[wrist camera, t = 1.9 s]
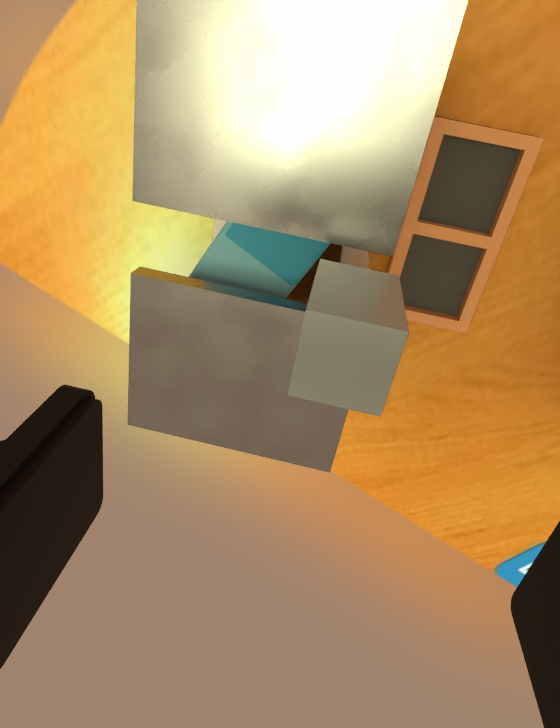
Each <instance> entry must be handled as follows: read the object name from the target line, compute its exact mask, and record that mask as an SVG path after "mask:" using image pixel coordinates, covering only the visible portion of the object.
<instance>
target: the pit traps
mask: <svg viewBox="0 0 560 728" xmlns="http://www.w3.org/2000/svg"><path fill="white" fill-rule="evenodd" d="M543 141H544V138H540V137H536V136H531V135H526V134H521V133H516V132H511V131H506V130H501V129H496V128H491V127H486V126H481V125H476V124H471V123H466V122H460V121H455V120H450V119H445V118H440V117H435V116H434V119H433V122H432V126H431V129H430V133H429V136H428V139H427V143H426V146H425V150H424V153H423V156H422V160H421V163H420V167H419V170H418V174H417V177H416V180H415V184H414V187H413V191H412V194H411V197H410V201H409V204H408V208H407V211H406V214H405V218H404V221H403V225H402V228H401V232H400V235H399V238H398V242H397V245H396V249H395V252H394V255H393V256H392V257H391V260H390V264H389V267H388V271H387V273H389V274H394V275H398V276H399V277H400V283H401V289H402V294H403V300H404V306H405V312H406V318H407V321H411V322H415V323H420V324H425V325H429V326H434V327H438V328H443V329H447V330H452V331H456V332H461V333H465V334H466V333H467V330H468V328H469V325H470V323H471V320H472V318H473V315H474V313H475V310H476V308H477V305H478V303H479V300H480V298H481V295H482V293H483V290H484V288H485V285H486V283H487V280H488V278H489V275H490V273H491V270H492V268H493V265H494V263H495V260H496V258H497V255H498V253H499V250H500V248H501V245H502V243H503V240H504V238H505V235H506V233H507V230H508V228H509V225H510V223H511V220H512V218H513V215H514V213H515V210H516V208H517V205H518V203H519V200H520V198H521V195H522V193H523V190H524V188H525V185H526V183H527V180H528V178H529V175H530V173H531V171H532V168H533V166H534V163H535V161H536V158H537V156H538V153H539V151H540V148H541V146H542V143H543Z"/></svg>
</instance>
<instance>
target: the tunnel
mask: <svg viewBox="0 0 560 728" xmlns="http://www.w3.org/2000/svg"><path fill="white" fill-rule="evenodd" d="M467 3H468V0H137V17H136V63H135V110H134V156H133V201H135V202H140V203H145V204H149V205H154V206H159V207H164V208H168V209H173V210H178V211H182V212H187V213H192V214H196V215H201V216H206V217H210V218H215V219H220V220H224V221H229V222H234V223H238V224H243V225H248V226H252V227H257V228H262V229H266V230H271V231H276V232H280V233H285V234H290V235H294V236H299V237H304V238H309V239H313V240H318V241H323V242H327V243H332V244H337V245H341V246H346V247H351V248H355V249H360V250H365V251H369V252H374V253H379V254H383V255H388V256H393V255H394V252H395V249H396V245H397V242H398V238H399V235H400V232H401V228H402V225H403V221H404V218H405V214H406V211H407V208H408V204H409V201H410V197H411V194H412V191H413V187H414V184H415V180H416V177H417V174H418V170H419V167H420V163H421V160H422V156H423V153H424V150H425V146H426V143H427V139H428V136H429V133H430V129H431V126H432V122H433V119H434V116H435V112H436V109H437V105H438V102H439V98H440V95H441V92H442V88H443V85H444V81H445V78H446V75H447V71H448V68H449V64H450V61H451V58H452V54H453V51H454V47H455V44H456V40H457V37H458V34H459V30H460V27H461V23H462V20H463V17H464V13H465V10H466V6H467ZM306 307H307V303H303V302H298V301H294V300H289V299H285V298H280V297H276V296H271V295H267V294H262V293H258V292H253V291H249V290H244V289H239V288H235V287H230V286H226V285H221V284H217V283H212V282H208V281H203V280H199V279H194V278H190V277H185V276H180V275H176V274H171V273H167V272H162V271H158V270H153V269H149V268H144V267H139V268H137V269H136V270H135V271H133V272H132V273H131V296H130V342H129V388H128V425H132V426H136V427H141V428H144V429H149V430H153V431H157V432H162V433H165V434H170V435H174V436H178V437H183V438H186V439H191V440H195V441H200V442H203V443H208V444H212V445H216V446H220V447H224V448H229V449H233V450H237V451H241V452H246V453H250V454H254V455H258V456H262V457H267V458H271V459H275V460H280V461H284V462H288V463H292V464H296V465H301V466H305V467H309V468H313V469H317V470H322V471H326V472H330V470H331V467H332V464H333V460H334V457H335V453H336V450H337V447H338V443H339V440H340V436H341V433H342V429H343V426H344V423H345V419H346V416H347V412H348V409H345V408H341V407H337V406H332V405H328V404H324V403H319V402H315V401H311V400H306V399H302V398H298V397H293V396H289V395H288V391H289V386H290V381H291V377H292V372H293V367H294V363H295V358H296V353H297V349H298V344H299V339H300V335H301V330H302V325H303V321H304V316H305V311H306Z"/></svg>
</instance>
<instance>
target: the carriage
mask: <svg viewBox="0 0 560 728" xmlns="http://www.w3.org/2000/svg"><path fill="white" fill-rule="evenodd" d="M226 222H227V221H224V220H220V219H215V221H214V231H213V240H212V242H213V241H214V239H215V238H216V236H217V235H218V233H219V232H220V230H221V229H222V227H223V226H224V224H225V223H226ZM408 334H409V329H408V323H407V318H406V312H405V306H404V300H403V294H402V289H401V283H400V277H399V276H398V275H394V274H389V273H385V272H380V271H375V270H371V269H369V251H365V250H360V249H355V248H351V247H346V246H342V252H341V258H340V262H339V263H338V262H334V261H329V260H324V259H320V261H319V265H318V268H317V272H316V275H315V279H314V282H313V286H312V290H311V293H310V297H309V300H308V304H307V307H306V311H305V316H304V321H303V325H302V330H301V335H300V339H299V344H298V349H297V353H296V358H295V363H294V367H293V372H292V377H291V381H290V386H289V391H288V395H289V396H293V397H298V398H302V399H306V400H311V401H315V402H319V403H324V404H328V405H332V406H337V407H341V408H345V409H350V410H354V411H358V412H363V413H367V414H371V415H376V416H380V417H381V414H382V411H383V408H384V405H385V402H386V399H387V396H388V393H389V390H390V387H391V384H392V381H393V378H394V375H395V372H396V369H397V367H398V364H399V361H400V358H401V355H402V352H403V349H404V346H405V343H406V340H407V337H408Z"/></svg>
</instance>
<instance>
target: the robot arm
mask: <svg viewBox="0 0 560 728" xmlns="http://www.w3.org/2000/svg"><path fill="white" fill-rule="evenodd" d="M102 443H103V439H102V403H101V401H100V400H97V399H95V395H94V393H93V392H92V391H90V390H86V389H82V388H77V387H72V386H68V385H63V386H61V387H59V388H58V389H57V390H56V391H55V392H54V393H53V394H52V395H51V396H50V397H49V398H48V399H47V400H46V401H45V402H44V403H43V404H42V405H41V406H40V407H39V408H38V409H37V410H36V411H35V412H34V413H33V414H32V415H30V416H29V418H28V419H26V420H25V421H24V422H23V423H22V425H20V426H19V427H18V428H17V429H16V430H15V431H14V432H13V433H12V434H11V435H10V436H9V437H8V438H7V439H6V440H3V441H0V668H1V667H2V666H3V665H4V663H5V661H6V660H7V658H8V657H9V655H10V654H11V652H12V650H13V649H14V647H15V646H16V644H17V642H18V641H19V639H20V638H21V636H22V634H23V632H24V631H25V630H26V628H27V626H28V625H29V623H30V622H31V620H32V618H33V617H34V615H35V614H36V612H37V610H38V608H39V607H40V605H41V604H42V602H43V601H44V599H45V598H46V596H47V594H48V592H49V591H50V590H51V588H52V586H53V585H54V583H55V581H56V580H57V578H58V577H59V575H60V573H61V572H62V570H63V569H64V567H65V565H66V564H67V562H68V561H69V559H70V557H71V556H72V554H73V553H74V551H75V549H76V548H77V546H78V544H79V543H80V541H81V540H82V538H83V537H84V535H85V533H86V532H87V530H88V529H89V527H90V525H91V523H92V522H93V521H94V519H95V517H96V516H97V514H98V512H99V510H100V508H101V504H102V500H103V450H102V449H103V444H102ZM511 612H512V617H513V620H514V624H515V627H516V630H517V634H518V638H519V641H520V644H521V648H522V652H523V655H524V658H525V662H526V665H527V669H528V672H529V676H530V679H531V683H532V686H533V690H534V693H535V697H536V700H537V704H538V707H539V711H540V714H541V718H542V721H543V725H544V728H560V521H559V523H558V524H557V526H556V528H555V529H554V531H553V532H552V534H551V535H550V537H549V539H548V540H547V542H546V543H545V545H544V546H543V548H542V550H541V551H540V553H539V554H538V556H537V557H536V559H535V560H534V562H533V564H532V565H531V567H530V568H529V570H528V571H527V573H526V575H525V576H524V578H523V579H522V581H521V582H520V584H519V585H518V587H517V589H516V590H515V592H514V594H513V596H512V599H511Z"/></svg>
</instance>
